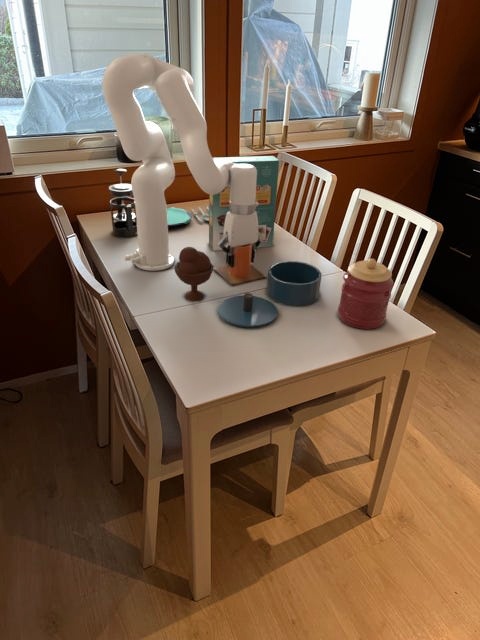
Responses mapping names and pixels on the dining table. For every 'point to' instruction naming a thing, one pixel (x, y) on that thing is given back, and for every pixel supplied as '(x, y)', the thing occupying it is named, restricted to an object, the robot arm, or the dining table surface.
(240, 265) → the cup
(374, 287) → the kitchen canister
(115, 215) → the french press
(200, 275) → the ice cream bowl
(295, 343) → the dining table surface
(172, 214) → the cutlery set
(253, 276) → the plate
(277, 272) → the pot
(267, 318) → the lid
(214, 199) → the cake mix box
